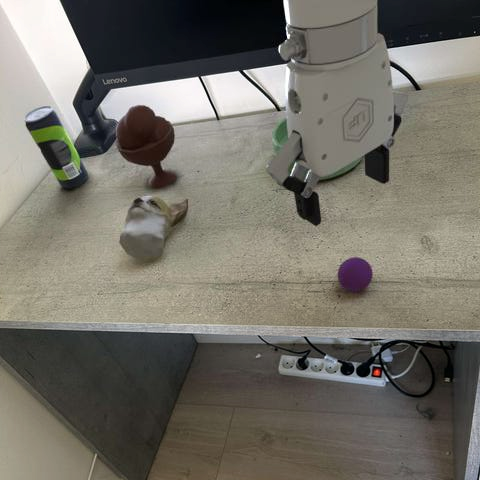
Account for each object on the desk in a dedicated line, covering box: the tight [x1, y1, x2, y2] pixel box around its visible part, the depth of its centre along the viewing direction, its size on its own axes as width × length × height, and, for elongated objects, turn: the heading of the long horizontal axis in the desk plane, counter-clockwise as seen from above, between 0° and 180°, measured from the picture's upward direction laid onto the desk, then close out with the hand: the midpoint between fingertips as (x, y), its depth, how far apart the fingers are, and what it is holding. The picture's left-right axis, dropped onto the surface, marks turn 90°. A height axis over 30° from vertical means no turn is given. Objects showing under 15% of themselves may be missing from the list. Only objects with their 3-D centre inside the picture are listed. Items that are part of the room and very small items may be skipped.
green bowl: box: [271, 116, 364, 182], centre depth 84 cm, size 15×15×6 cm
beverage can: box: [23, 105, 89, 189], centre depth 97 cm, size 6×6×15 cm
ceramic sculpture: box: [118, 195, 190, 261], centre depth 79 cm, size 11×9×15 cm
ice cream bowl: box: [114, 104, 177, 190], centre depth 89 cm, size 11×11×15 cm
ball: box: [337, 256, 374, 292], centre depth 63 cm, size 4×4×4 cm
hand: (344, 198), depth 55 cm, fingers open, 9 cm apart
